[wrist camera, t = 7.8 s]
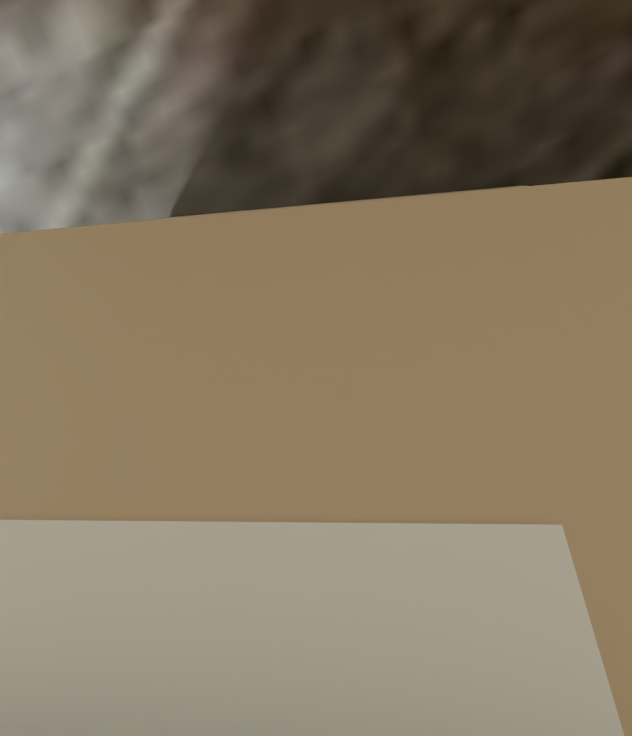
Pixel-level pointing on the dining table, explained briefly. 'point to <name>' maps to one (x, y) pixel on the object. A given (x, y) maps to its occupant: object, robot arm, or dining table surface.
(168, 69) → the dining table surface
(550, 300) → the lid flap
